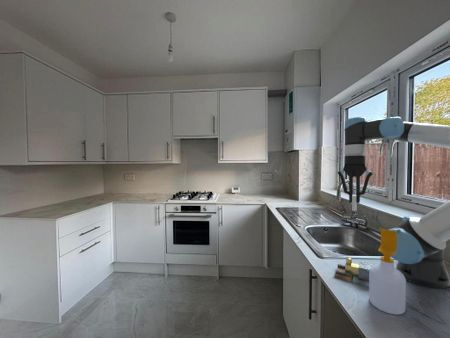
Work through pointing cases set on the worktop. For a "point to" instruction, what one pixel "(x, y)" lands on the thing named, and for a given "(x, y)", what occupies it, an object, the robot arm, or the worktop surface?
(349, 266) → the bolt
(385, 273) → the soap bottle
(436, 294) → the worktop surface
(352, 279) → the panel
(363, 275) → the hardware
